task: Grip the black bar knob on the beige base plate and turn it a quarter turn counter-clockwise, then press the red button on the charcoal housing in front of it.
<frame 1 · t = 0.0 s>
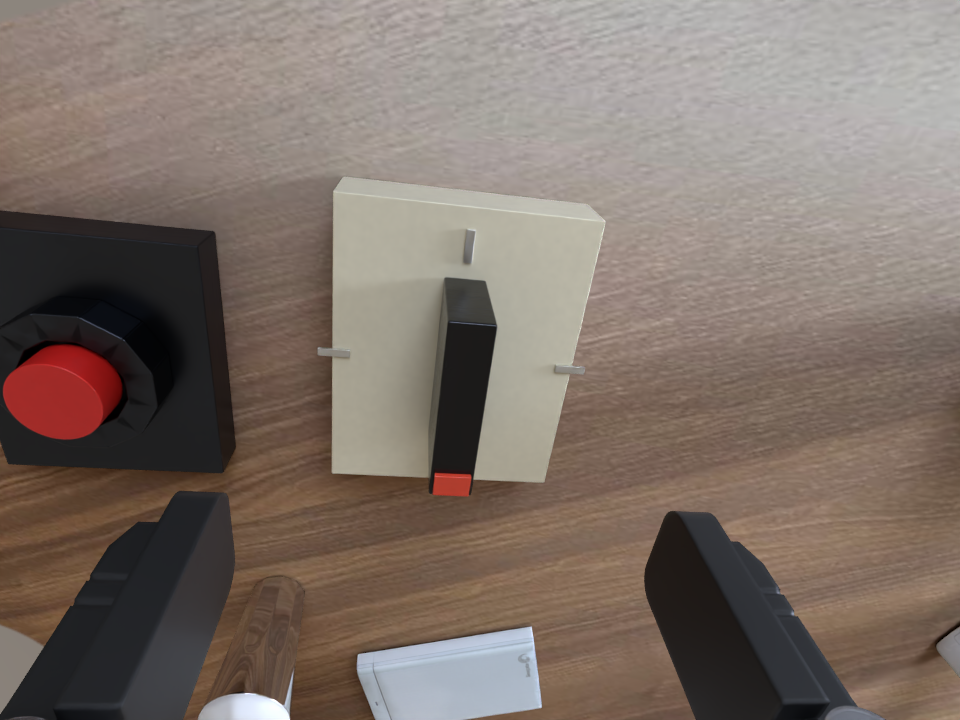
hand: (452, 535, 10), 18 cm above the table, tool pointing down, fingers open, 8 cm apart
beige base plate: (452, 331, 28), on the table
button box: (118, 342, 27), on the table
start button: (65, 391, 23), point 4 cm above the table, slide at 0.1 cm
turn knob: (457, 387, 23), point 5 cm above the table, hinge at 0.0°
milkshake: (283, 594, 37), on the table
hard drive: (453, 668, 42), on the table
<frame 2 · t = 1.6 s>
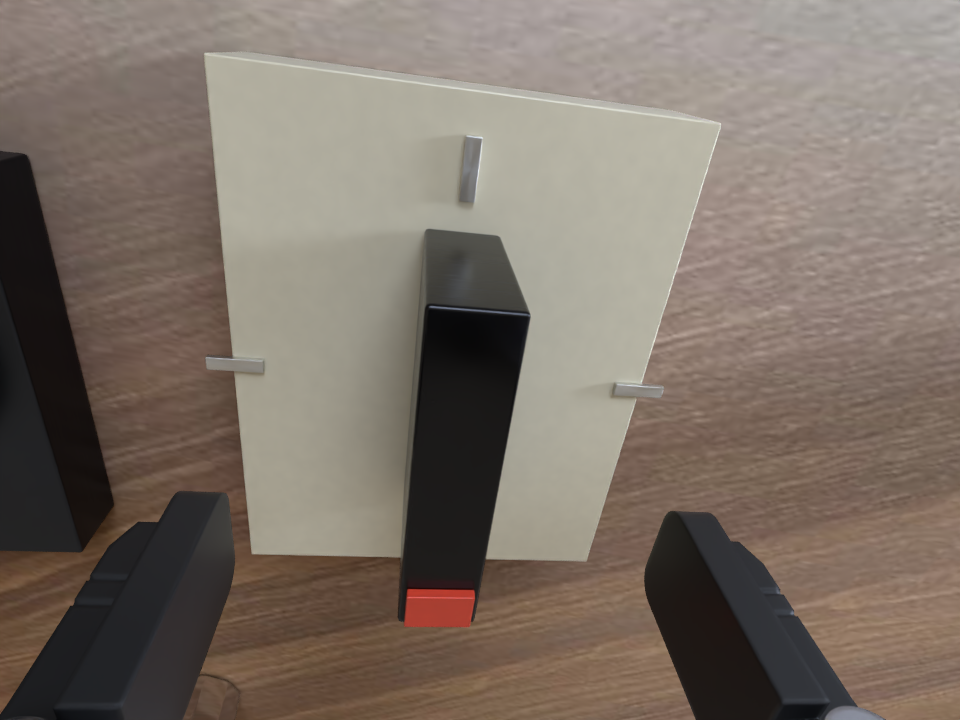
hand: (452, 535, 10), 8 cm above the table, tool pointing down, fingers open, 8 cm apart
beige base plate: (443, 327, 18), on the table
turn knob: (450, 429, 13), point 5 cm above the table, hinge at 0.0°
milkshake: (210, 695, 26), on the table
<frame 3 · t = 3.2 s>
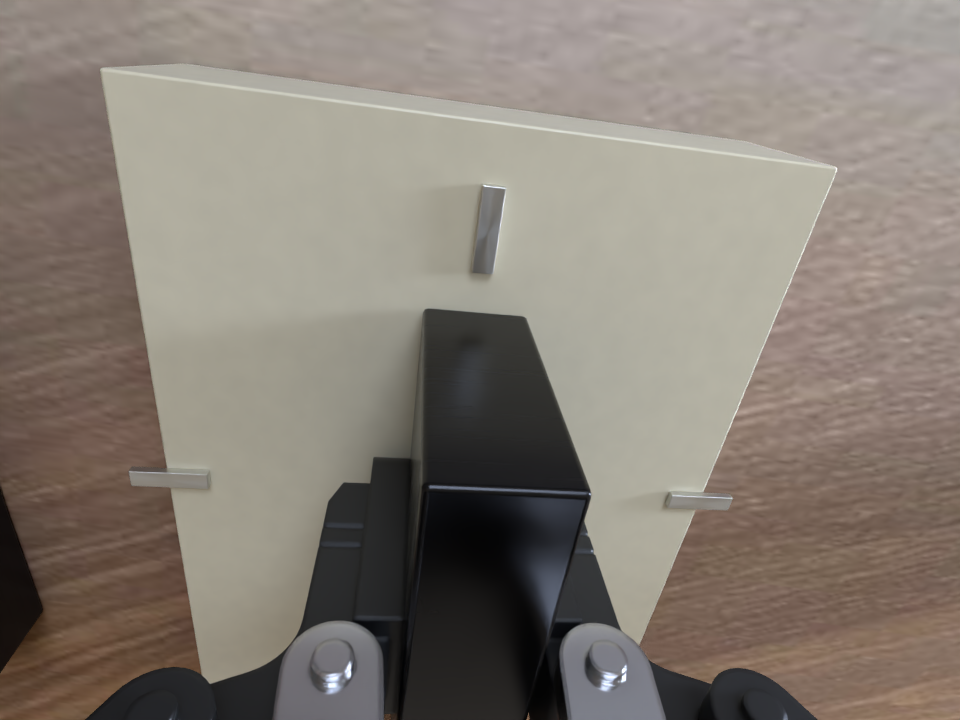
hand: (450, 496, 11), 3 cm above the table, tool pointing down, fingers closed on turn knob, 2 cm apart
beige base plate: (446, 406, 14), on the table
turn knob: (457, 585, 9), point 5 cm above the table, hinge at 0.2°, touching gripper
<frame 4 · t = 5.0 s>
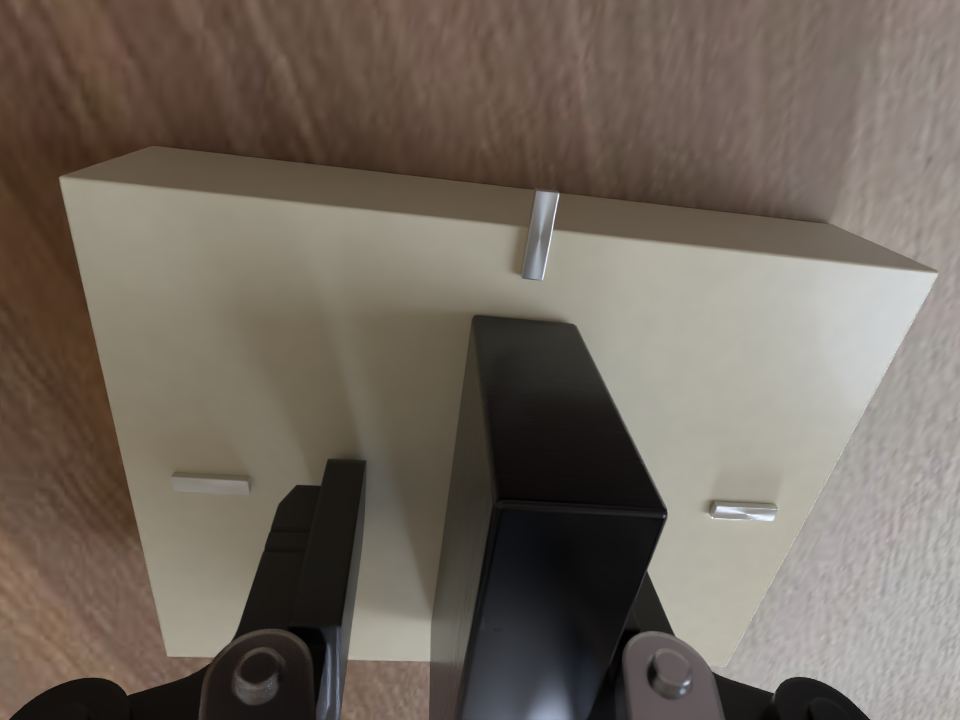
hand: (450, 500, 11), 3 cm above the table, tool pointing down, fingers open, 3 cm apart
beige base plate: (482, 411, 14), on the table
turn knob: (503, 597, 9), point 5 cm above the table, hinge at 89.8°
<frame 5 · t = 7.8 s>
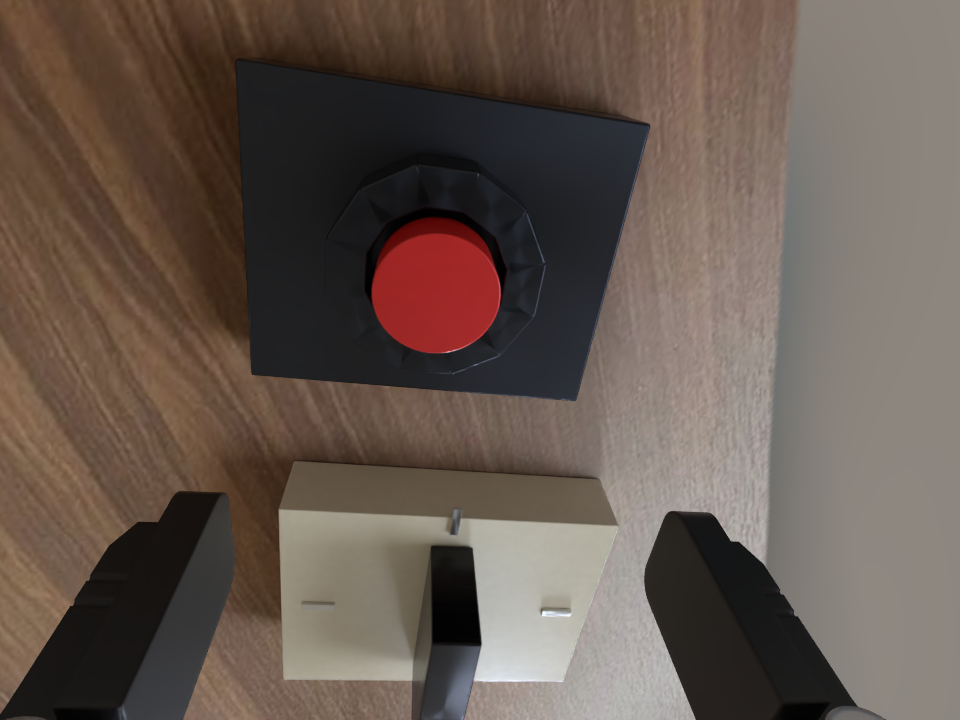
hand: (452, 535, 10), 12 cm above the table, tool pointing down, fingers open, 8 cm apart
beige base plate: (439, 555, 28), on the table
button box: (434, 240, 20), on the table
start button: (436, 285, 16), point 4 cm above the table, slide at 0.1 cm
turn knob: (442, 658, 23), point 5 cm above the table, hinge at 89.8°
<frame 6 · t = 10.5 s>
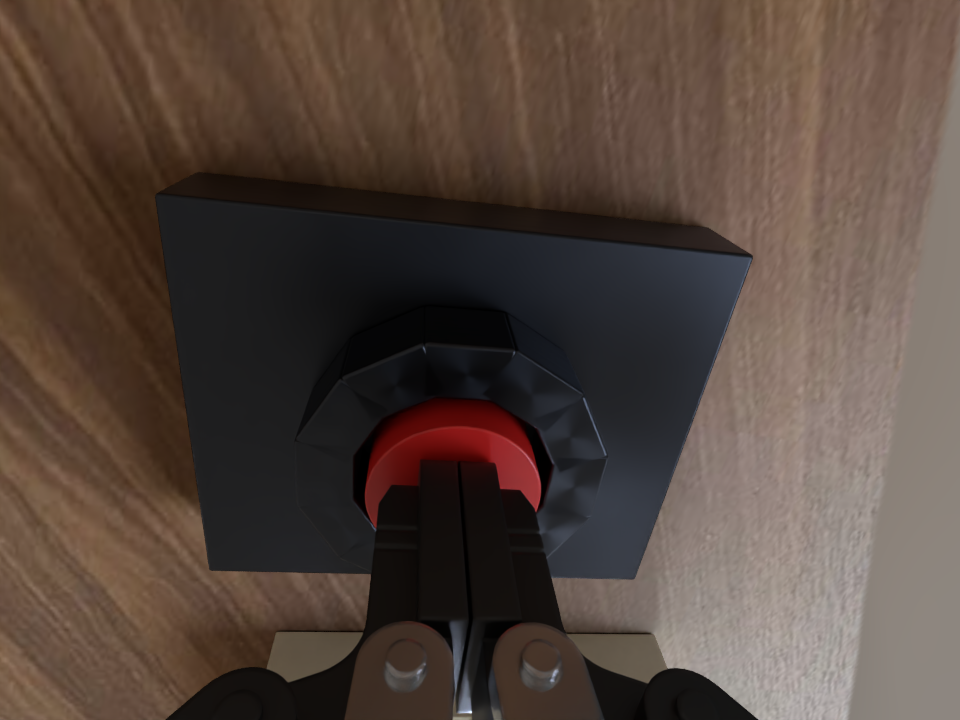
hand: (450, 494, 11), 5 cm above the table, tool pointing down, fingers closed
beige base plate: (457, 718, 23), on the table
button box: (447, 384, 15), on the table
start button: (452, 471, 12), point 4 cm above the table, slide at -0.7 cm, touching gripper
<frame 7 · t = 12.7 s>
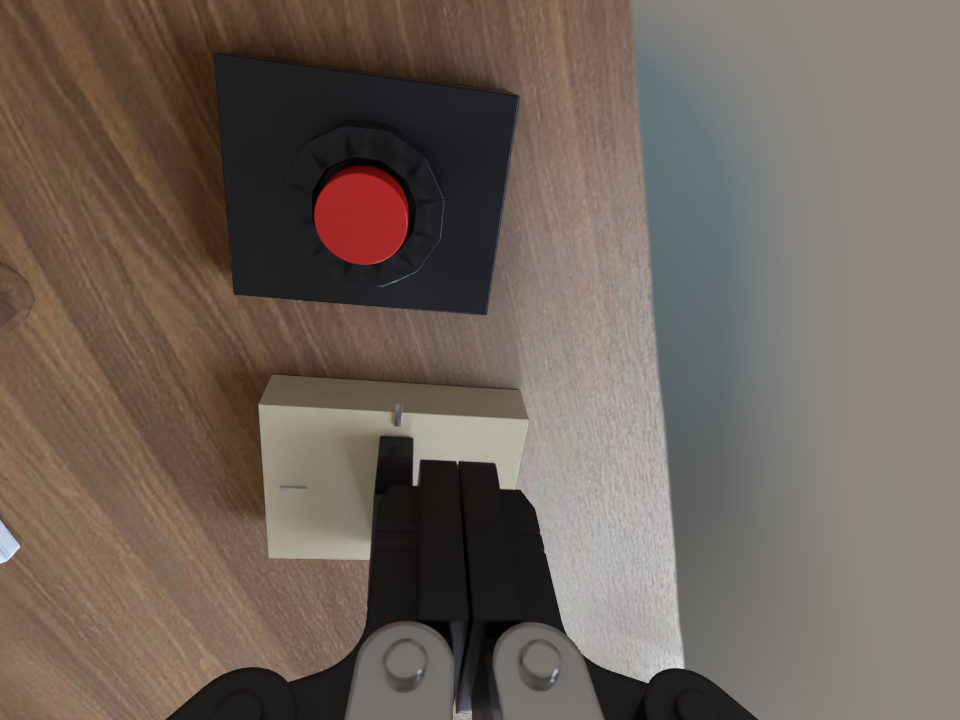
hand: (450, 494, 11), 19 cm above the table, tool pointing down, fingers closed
beige base plate: (394, 458, 34), on the table
button box: (371, 190, 26), on the table
start button: (363, 215, 23), point 4 cm above the table, slide at 0.1 cm
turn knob: (390, 524, 30), point 5 cm above the table, hinge at 89.8°
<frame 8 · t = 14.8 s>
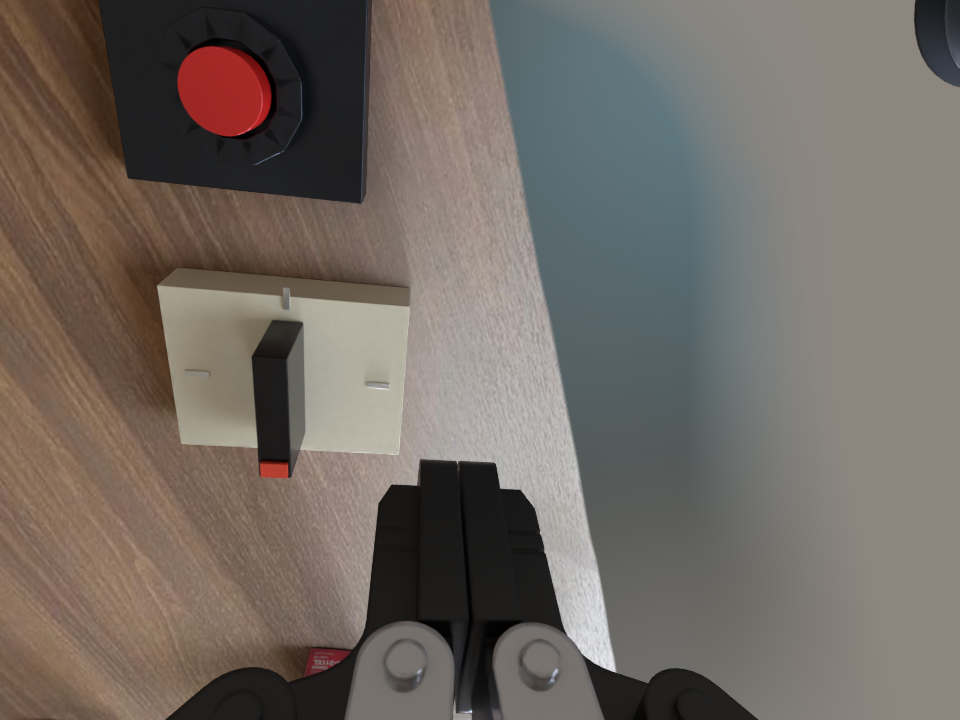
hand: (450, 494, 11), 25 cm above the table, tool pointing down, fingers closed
beige base plate: (299, 355, 37), on the table
ink box: (329, 673, 54), on the table
button box: (253, 86, 29), on the table
start button: (226, 91, 25), point 4 cm above the table, slide at 0.1 cm
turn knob: (281, 400, 32), point 5 cm above the table, hinge at 89.8°
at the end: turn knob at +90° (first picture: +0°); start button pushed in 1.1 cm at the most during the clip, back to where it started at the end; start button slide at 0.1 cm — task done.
